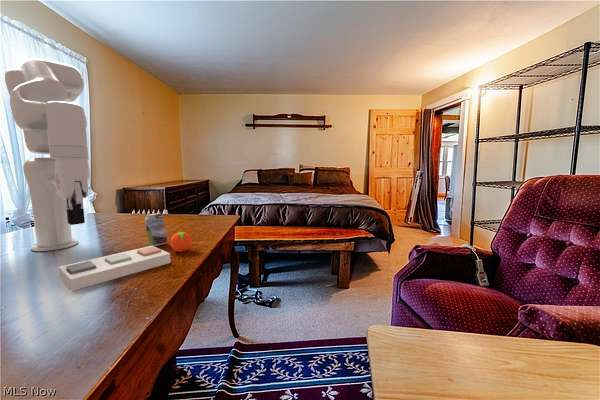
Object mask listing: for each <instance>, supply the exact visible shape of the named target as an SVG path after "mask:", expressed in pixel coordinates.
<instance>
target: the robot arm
mask: <svg viewBox="0 0 600 400" xmlns="http://www.w3.org/2000/svg"><path fill="white" fill-rule="evenodd" d="M4 82H5V85H6V90H7V91H8V94H9V106H10V109H11V110H10V111H11V114H12V118H13V120H14V122H15V124H16V126H18V128H20V129H21V130H22V131H23V136H24V137H23V138H24V142H25V145H26V148H27V150H28V151H29V152H30V153H32V154H37V155H49V157H33V158H30V159H28V160H26V161H25V162H24V163H23V165H22V169H23V174H24V177H25V178H24V179H25V180H26V184H27V186H28V187H27V188H28V190H29V196H30V203H31V210H32V219H33V224H34V231H35V232H34V233H35V240H36V243H33V244H32V245H31V246H30V250H31V251H34V252H50V251H51V252H52V251H57V250H58V251H59V250H64V249H66V248H71V247H74V246H76V245H77V244H78V243H79V241H78V239H77V238H73V236H72V235H73V234H72V228H71V226H74V225H82V224H85V223H86V220H85V219H86V218H85V210H84V199H86V198H87V197H88V196H89V183H88V182H89V180H90V178H91V177H90V176H91V173H90V167H89V149H88V148H89V147H88V135H87V134H88V133H87V127H88V126H87V125H88V121H87V117H86V113H85V109H84V107H83V106H82V105H80V104H78V103H73V102H74V101H76V100H77V99H78V97H79V96H81V94H82V92H83V90H84V87H85V86H84V85H85V82H84V77H83V75H82V73H81V72H80V70H79V69H78V68H77V67H75V66H74V65H70V64H66V63H60V62H57V61H52V60H47V59H43V58H36V57H35V58H33V57H31V58H27V59H25V60H24V61H22V63H21V65H20V68H10V69H9V68H8V69H7V70H6V71H5V74H4Z"/></svg>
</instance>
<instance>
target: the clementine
mask: <svg viewBox="0 0 600 400" xmlns="http://www.w3.org/2000/svg"><path fill="white" fill-rule="evenodd" d="M192 244H193V239H192V236H191V235H190V234H189V233H188V232H186V231H179V232H175V233H174V234H173V235H172V236H171V238H170V246H171V248H172V250H174V251H176V252H178V253H182V252H183V253H184V252H187V251H188V250H189V249H190V248H191V247H192Z"/></svg>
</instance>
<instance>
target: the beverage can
mask: <svg viewBox="0 0 600 400" xmlns="http://www.w3.org/2000/svg"><path fill="white" fill-rule="evenodd" d="M144 223H145V228H146V233H147V239H148V240H147V241H148V245H149V246H154V247H157V246H162V245H164V244H166V242H168V237H167V232H166V231H167V230H166V225H165V219H164V215H162V214H161V212H157V213H151V214H146V215H145V218H144Z"/></svg>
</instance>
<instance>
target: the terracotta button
mask: <svg viewBox="0 0 600 400" xmlns="http://www.w3.org/2000/svg"><path fill="white" fill-rule="evenodd" d="M143 248H144V247H143ZM161 250H162V249H160V248H159V247H157V246H153V247H149V248H144V249H140V250H137V253H138V254H140V255H142V256H148V255H152V254H156V253H160V252H161Z"/></svg>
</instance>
